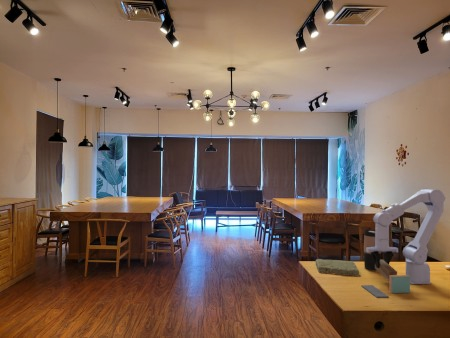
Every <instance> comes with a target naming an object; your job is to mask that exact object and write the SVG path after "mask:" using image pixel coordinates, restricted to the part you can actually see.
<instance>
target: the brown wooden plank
mask: <svg viewBox="0 0 450 338" xmlns="http://www.w3.org/2000/svg"><path fill="white" fill-rule="evenodd" d="M375 269H376V270H377V271H376V272H378V273H379V274H380V275H381V276H382V277H383V278H385V280H386V281H388V282H389V275H398V271H397V270H396V269H395V268H394V267H393V266H391V265H390V263H389V264H388V263H386V262H385V261H384V258H383V259H380V268H377V267H376V265H375Z"/></svg>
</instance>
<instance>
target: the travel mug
mask: <svg viewBox="0 0 450 338" xmlns="http://www.w3.org/2000/svg"><path fill="white" fill-rule="evenodd" d="M363 234H364V235H363V258H364V259H363V263H364V264H363V265H364V269H365V270H367V271H371V272H378V271H377V270H376V269H375V261H374V258H373V256H372V254H371V252H366V247H375V229H365V230H363ZM379 254H381V252H379Z"/></svg>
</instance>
